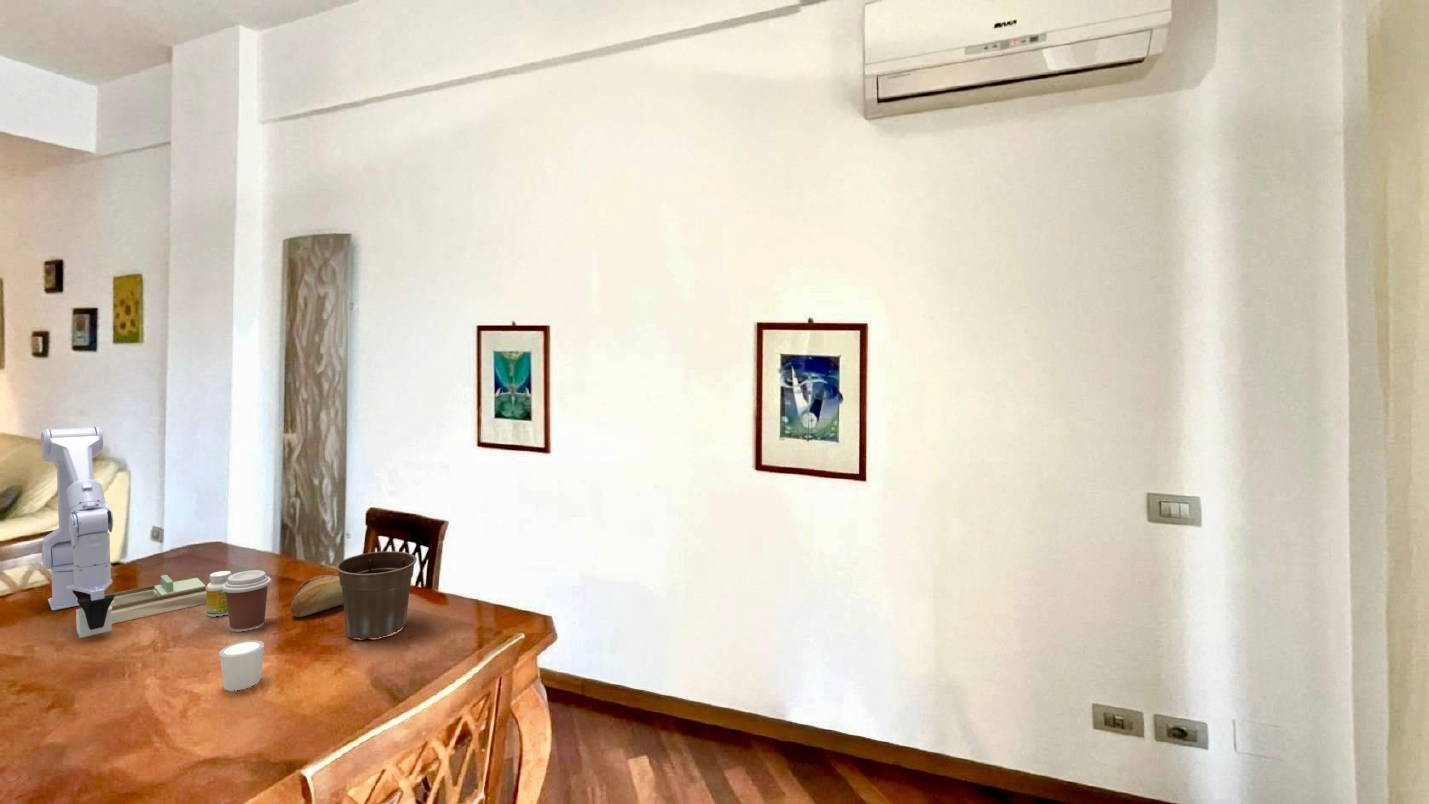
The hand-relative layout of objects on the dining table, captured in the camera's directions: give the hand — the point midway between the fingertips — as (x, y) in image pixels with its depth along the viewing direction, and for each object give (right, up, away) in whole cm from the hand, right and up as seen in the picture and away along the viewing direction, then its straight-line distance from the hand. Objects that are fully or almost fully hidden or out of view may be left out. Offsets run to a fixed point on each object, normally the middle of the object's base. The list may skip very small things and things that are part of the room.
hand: (94, 623), depth 138 cm
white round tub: (+48, -5, -19) cm, 52 cm away
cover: (+3, +2, +19) cm, 19 cm away
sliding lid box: (0, -1, +15) cm, 15 cm away
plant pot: (+60, -4, +5) cm, 61 cm away
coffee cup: (+30, -3, +5) cm, 31 cm away
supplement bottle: (+19, -2, +12) cm, 22 cm away
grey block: (0, -2, 0) cm, 2 cm away
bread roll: (+41, -3, +16) cm, 44 cm away
